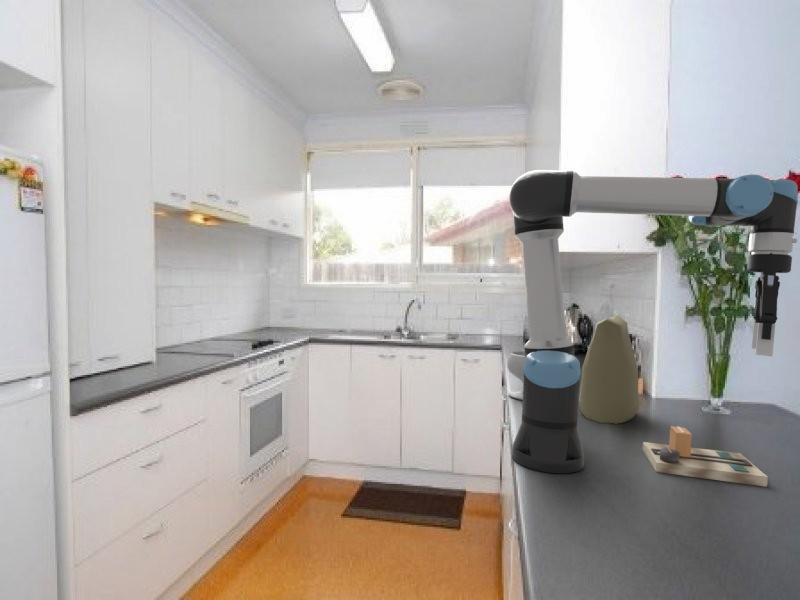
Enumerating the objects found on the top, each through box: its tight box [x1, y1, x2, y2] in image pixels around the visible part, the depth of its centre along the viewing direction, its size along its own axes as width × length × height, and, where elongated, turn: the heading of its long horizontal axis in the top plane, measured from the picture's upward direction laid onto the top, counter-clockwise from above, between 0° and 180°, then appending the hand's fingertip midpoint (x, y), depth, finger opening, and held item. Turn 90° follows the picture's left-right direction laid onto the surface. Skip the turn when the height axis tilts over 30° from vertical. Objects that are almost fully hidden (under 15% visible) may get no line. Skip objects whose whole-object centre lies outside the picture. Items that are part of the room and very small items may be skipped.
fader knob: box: [668, 425, 693, 457], centre depth 106 cm, size 3×5×5 cm, turn 163°
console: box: [642, 441, 769, 488], centre depth 105 cm, size 20×14×4 cm
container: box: [578, 314, 639, 425], centre depth 146 cm, size 24×17×30 cm
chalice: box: [506, 350, 525, 401], centre depth 164 cm, size 14×14×15 cm
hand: (761, 352), depth 104 cm, fingers open, 13 cm apart
